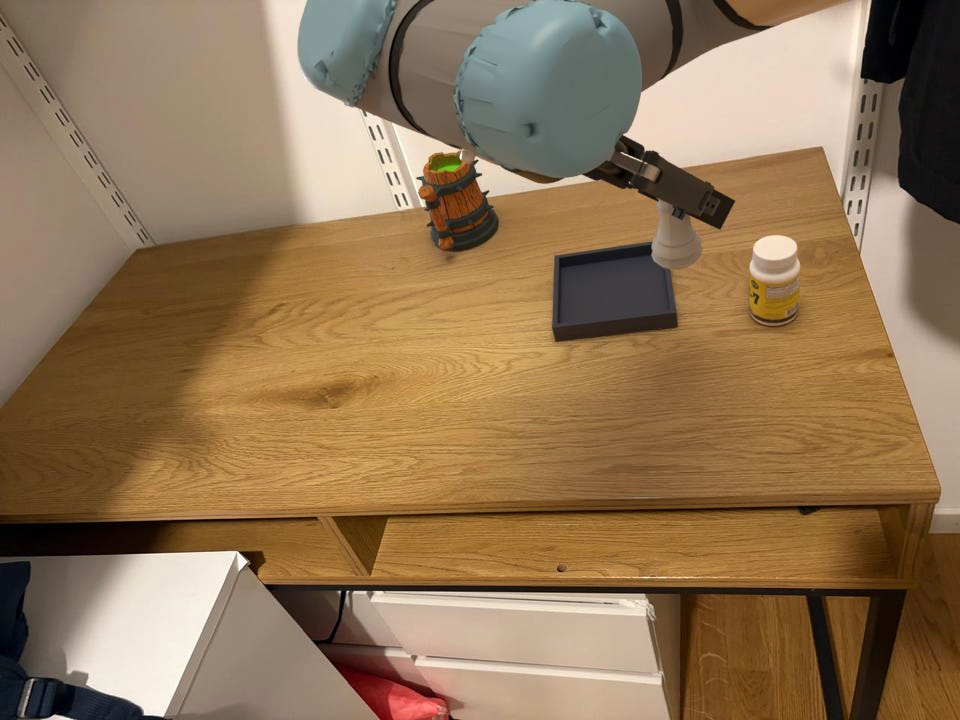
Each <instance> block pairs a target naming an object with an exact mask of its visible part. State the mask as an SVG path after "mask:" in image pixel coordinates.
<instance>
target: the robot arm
mask: <svg viewBox="0 0 960 720" xmlns="http://www.w3.org/2000/svg"><path fill="white" fill-rule="evenodd" d="M851 1H852V0H306V3H305V5H304V9H303V12H302V15H301V18H300V22H299V27H298V34H297V43H296V51H297V52H296V53H297V60H298V65H299V69H300V71H301V74H302V76H303V78H304V79H305V81H306V82H307V83H308V84H309V85H310V86H311V87H313V88H314V89H316V90H318V91H320V92H321V93H324V94H326V95H328V96H330V97H332V98H334V99H336V100H338V101H340V102H342V103H343V104H344V106H345V107H346V106H348V107H349V108H357V109H359V110H361V111H363V112H365V113H368V114H371V115H373V116H376V117H378V118H380V119H383V120H384V121H388V122H390V123H391V124H394V125H397V126H399V127H402V128H405V129H406V130H409V131H413V132H415V133H418V134H419V135H423V136H425V137H428V138H430V139H433V140H436V141H438V142H441V143H443V144H444V145H446V146H449V147H451V148H454V149H457V150H458V151H459V150H460V151H462V152H461V154H460V159H461V161H462V162H464V163H466V164H471V163H473V161H475V160H476V157H477V158H478V159H480V160H483V161H485V162H488V163H490V164H492V165H495V166H500V168H502V169H503V170H505V171H507V172H509V173H512V174H514V175H516V176H519V177H521V178H524V179H526V180H528V181H531V182H533V183H537V184H542V185H548V184H554V183H557V182H560V181H562V180H564V179H567V178H568V179H569V178H575V177H578V176H581V175H582V176H584V177H585V178H588V179H590V180H592V181H596V182H598V181H602V182H605V183H608V184H609V185H612V186H613V187H616V188H618V189H621V190H625V189H629V190H638V191H637V193H639V194H640V195H642V196H644V197H647V198H648V199H650V200H653V201H654V202H656V203H657V202H658V201H659V200H658V199H660V200H662V201H665V202H667V203H669V204H671V205H673V206H672V208H674V210H673V212H672V214H671V215H672V216H674V217H676V218H678V219H680V220H683V219H684V217H685V215H686V214H687V215H689V216H690V218H691V217H692V218H693V219H695V220H698V221H700V222H703V223H704V224H706V225H708V226H710V227H713V228H715V229H717V230H720V231H721V230H722V227H723V226H724V224H725V222H726V220H727V218H728V217H729V215H730V213H731V211H732V209H733V207H734V205H735V203H736V200H735V199H734V198H732V197H729V196H728V195H726V194H724V193H722V192H721V191H718V190H717V189H716V188H715V186H714V185H713V184H712V183H711V182H709V181H707V180H705V181H704V180H702V179H700V178H699V177H697V176H695V175H693V173H690V172H688V171H686V170H685V169H683V168H681V167H680V166H677V165H675V164H673V163H672V162H670V161H668V160H667V159H666V158H664V157H663V156H661V155H660V153H659V152H658V151H657V150H656V151H655V150H654V149H652V150H651V149H649V150H647V149H646V147H645V146H644V145H643V144H642V143H639V142H638V141H635V140H634V139H632V138H630V137H628V136H626V135H625V134H627V133H628V132H629V131H630V129H631V127H632V126H633V123H634V121H635V118H636V116H637V113H638V109H639V105H640V101H641V95H642V93H643V92H644V91H646V90H648V89H649V88H651V87H652V86H654V85H655V84H657V83H658V82H660V81H662V80H664V79H665V78H666V77H667V76H668V75H670V74H672V73H673V72H675V71H677V70H679V69H680V68H682V67H683V66H685V65H687V64H689V63H691V62H692V61H694V60H695V59H697V58H699V57H700V56H702V55H705V54H706V53H708V52H710V51H713V50H715V49H717V48H719V47H721V46H724V45H726V44H729V43H732V42H735V41H739V40H741V39H744V38H747V37H751V36H753V35H756V34H759V33H762V32H765V31H767V30H770V29H772V28H775V27H777V26H780V25H782V24H785V23H788V22H791V21H795V20H796V19H800V18H803V17H806V16H809V15H812V14H814V13H819V12H821V11H824V10H827V9H830V8H833V7H836V6H839V5H842V4H846V3H849V2H851ZM645 149H646V150H645ZM657 198H658V199H657Z"/></svg>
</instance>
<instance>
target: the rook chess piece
mask: <svg viewBox="0 0 960 720" xmlns="http://www.w3.org/2000/svg"><path fill="white" fill-rule="evenodd" d="M657 199H658V198H657ZM658 200H659V201H658V202H657V201H656V205H655V206H656V210H657V211H658V215H659V217H658V229H657V231H656V232H655V236H654V237H653V238H652V241H653V243H652V247H651V248H652V250H653V251H652V255H651V256H652V258H653V260H654V261H655V262H656V263H657V264H659V265H660V266H661V267H663V268H666V269H670V271H671V270H673V271H674V270H677V271H678V270H679V271H680V270H683V269H688V268H689V267H691V266H693V265H695V264H696V262H697V261H698V260H700V258H701V257H702V255H703V251H704V249H703V246H702V242H703V241H702V237H701V236H700V234H699V233H698V231H697V230H696V228H695V226H693V224H692V220H691V216H689V215H687V214H686V215H685V217H684V219H683V220H680V219H678V218H676V217H674V216H672V215H671V214H672V212H673V210H674V208H672V206H673V205H671V204H669V203H667V202H665V201H662V200H660V199H658Z"/></svg>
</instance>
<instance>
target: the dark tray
mask: <svg viewBox="0 0 960 720" xmlns="http://www.w3.org/2000/svg"><path fill="white" fill-rule="evenodd" d="M652 243H653V240H651V241H645V242H638V243H631V244H624V245H616V246H611V247H610V246H609V247H604V248H597V249H590V250H583V251H577V252H569V253H562V254H556V255H554V256H553V258H554V259H553V284H552V285H553V286H552V314H551V315H552V316H551V317H552V318H551V331H552V334H553V339H554V341H555V342H561V341H570V340H579V339H587V338H588V339H589V338H595V337H602V336H603V337H604V336H613V335H620V334H621V335H622V334H629V333H638V332H646V331H647V332H648V331H655V330H663V329H671V328H678V327H679V326H678V325H679V324H678V315H677V314H678V313H677V308H676V307H677V306H676V300H675V294H674V285H673V280H672V272H671V270H670V269H666V268H663V267H661V266H660V265H659V264H657V263H656V262H655V261H654V260H653V258H652V256H651V255H652V251H653V250H652V248H651V247H652Z"/></svg>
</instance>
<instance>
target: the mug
mask: <svg viewBox="0 0 960 720" xmlns="http://www.w3.org/2000/svg"><path fill="white" fill-rule="evenodd" d="M461 152H462V150H459V149H458V151H457V152H448V153H444V152H443V151H441V152H434V153H433V154H431V155H430V156H429V157H428V161H427V162H426V164H425V165H423V169H422V174H423V175H421V176H416V177H415V180H418V181H421V185H420V187H419V188H418V191H417V193H418V197H419V198H420V199H421V200H424V203H425V206H426V208H425V207H424V208H423V211H424V212H427V213H429V218H430V222H428V223H427V224H426V225H425V226H426V227H427V228H429V227H430V228H431V230H430V233H429V234H430V237H431V240H432V242H433V244H434V246H435V247H437V248H438V249H440V250H442V251H447V252H460V251H469V250H471V249H473V248H476V247H479V246H481V245H483V244H484V243H486V242H488V240H490V239H492V238H493V236H494V235H495V234H496V232H497V231H498V230H499V224H500V221H499V217H498V215H497V213H496V212H495V210H494V208H495V207H494V205H491V204H489V200H488V198H487V195H488V194H489V193H490V189H487V190H484V191H482V190H481V187H480V185H479V183H478V181H477V179H478V178H480V177H482V176H483V173H482V172H477V169H476V167H475V166H476V164H477V163H478V162H479V158H478V159H474V161H473V163H471V164H466V163H464V162H462V161H461V159H460V154H461Z"/></svg>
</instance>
